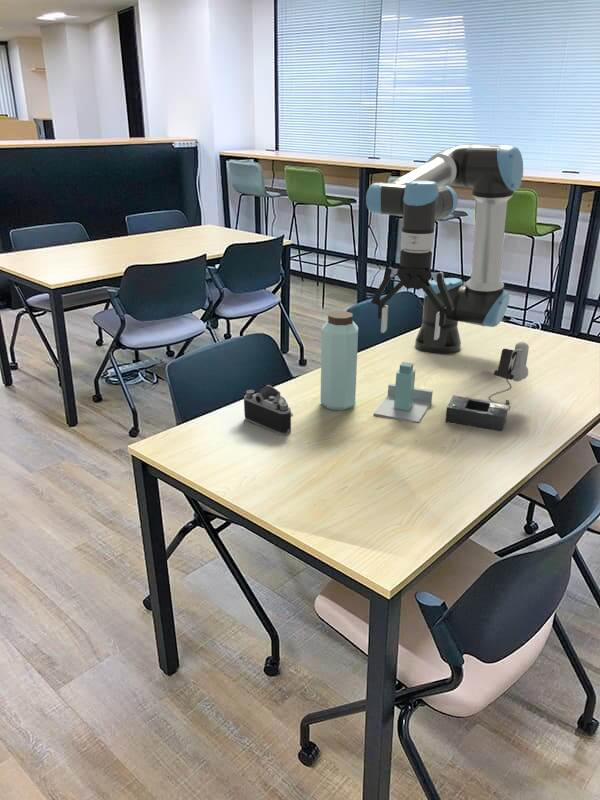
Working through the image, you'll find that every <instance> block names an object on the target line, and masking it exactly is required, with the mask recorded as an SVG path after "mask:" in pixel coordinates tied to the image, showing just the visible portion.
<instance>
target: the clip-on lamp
mask: <svg viewBox="0 0 600 800" xmlns="http://www.w3.org/2000/svg"><path fill="white" fill-rule="evenodd" d="M514 346H515V347H514V349H509V348H503V349H502V350H501V354H500V358H499V359H500V360H499V362H498V363H499V364H498V369H496V370H494V371H493V376H496V377H499V378H502V379H505V380H506V382H507V385H509V387H508V388H507V389H504V390H499V391H497V392H494V393H492V394H490V395H489V396H488V401H491V402H497V401H494V400H492V399H491V398H492V397H493V396H496V395H498V394H502V393H505V392H508V391H510V390H511V389H513V387H512V385H511V383H510V381H509V380H511V381H512V380H513V381H514V382H521V381H523V380H525V379H527V377H528V375H529V368H528V366H527V364H528V356H529V355H528V354H529V348H530V346H529V344H528V343H526V342H525V341H519V342H517V343H516V344H515V345H514ZM497 403H499V402H497ZM505 404H509V405H510V400H509V399H506V400H505Z"/></svg>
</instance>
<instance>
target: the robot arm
mask: <svg viewBox="0 0 600 800" xmlns="http://www.w3.org/2000/svg"><path fill="white" fill-rule="evenodd" d="M523 177H524V160H523V155H522V153H521V151H520V149H519V148H518V147H516V146H514V145H504V144H472V143H470V144H469V143H467V144H460V145H456V146H454V147H453V146H452V147H450V148H447V149H444V150H442V151H440V152H437V153H436V154H434V155H432V156H430V158H429V159H428V160H427V162H426V163H424V164H423V165H421V166H419V167H417V168H415V169H413V170H411V171H410V172H409V171H408V173H406V174H404V175H402V176H400V177H398V178H396V179H394V180H392V181H390V182H387V183H385V182H381V181H380V182H373V183H372V184H370V185H369V187H368V188H367V190H366V191H367V192H366V194H365V195H366V196H365V199H366V200H365V201H366V202H365V205H366V208H367V210H368V211H369V212H370V213H373V214H379V215H387V216H399V217H400V216H401V217H402V227H401V240H400V248H401V250H400V254H399V266H398V267H399V268H394V267H393V266H389V267H388V268H386V270H385V274H384V278H383V279H382V280H381V283H380V284H379V287H378V288H377V290H376V292H375V294H374V295H373V297H372V299H371V304H374V305H377V307H378V309H377V312H378V313H377V318H378V319H379V320H380V322H381V325H380V333H381V334H382V333H383V334H384V333H385V332H386V331H387V330H388V329H387V328H388V314H389V305H386V303H388V302H389V300H391V298H392V297H394V296H395V294H397V292H399V290H401V289H402V288H403V287H404V288H405V289H409V290H410V289H413V290H422V291H423V292H424V294H423V306H422V307H423V308H422V321H421V322H422V323H421V326H420V328H419V331H418V333H417V335H416V338H415V342H414V343H415V344H414V346H415V348H416V349H417V350H419V351H420V350H421V351H420V352H424V353H426V352H427V353H426V354H433V355H450V354H454V353H457V352H459V351H460V350H461V346H462V340H461V336H460V332H459V328H458V322H460V323H466V324H471V325H475V326H481V327H489V328H494V327H497V326H499V325H500V324H501V322H502V320H503V319H504V316H505V314H506V312H507V309H508V306H509V302H510V293H509V292H508V291H506V290H504V287H505V283H504V282H503V281H502V280H501V279H500V278H501V268H502V267H501V266H502V256H503V247H504V238H505V236H504V235H505V229H506V228H505V227H506V219H507V218H506V216H507V209H508V201H510V199H511V198H512V197H513V196H514V194H515V193H514V192H515V191H516V190H518V189H519V188H520V187H521V186H522V182H523V181H522V179H523ZM453 186H455V187H466V188H472V189H471V190H472V191H471V196H472V197H473V198H474V199H475V201H476V210H475V221H474V233H473V234H474V236H473V245H472V246H473V249H472V261H471V262H472V263H471V274H470V278H469V279H468V280H467V281H466V282H465V284H464V285H463V280H462V279H461V278H457V277H447V278H446V277H445V273H444V271H441V270H440V271H439V272H433V271H432V261H433V259H432V258H433V252H432V249H433V248H434V236H435V226H436V220H440V219H442V220H443V219H445V218H447V217H448V216H451V214H453V213H454V212H455V211H456V210H457V209H456V208H457V207H458V203H459V197H458V194H457V192H456V190H455V189H454V188H453ZM395 275H397V277H398V279H399V282H398V283H397V284H396V285H394V287H393V288H392V289H391V290H390V291H389V292H388V293H386V295H385V296H384V297H383V298H382V299H381V297H382V295H383V293H384V291H385V290H386V288H387V287H388V285H389V284H390V281H391V279H393V278H394V277H395ZM432 279H433V280H432Z"/></svg>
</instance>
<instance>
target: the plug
mask: <svg viewBox="0 0 600 800" xmlns="http://www.w3.org/2000/svg"><path fill="white" fill-rule="evenodd" d="M415 381H416V369H414V363H412V362H405V361H402V362H401V363H400V364H399V368H398V370H397V371H396V375H395V384H396V386H395V400H394V408H396V409H402V410H407V411H409V410H410V408H411V407H412V405H413V395H414V387H415Z"/></svg>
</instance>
